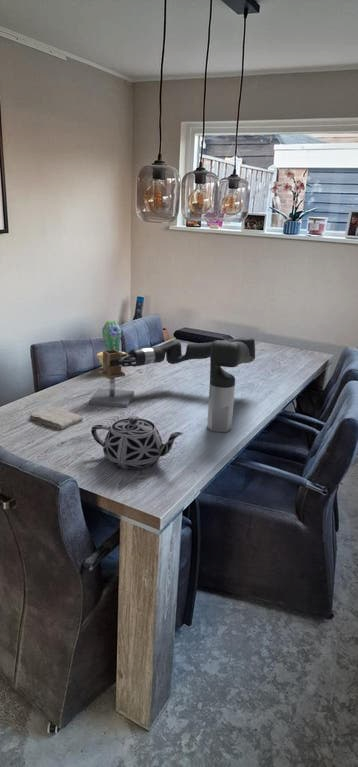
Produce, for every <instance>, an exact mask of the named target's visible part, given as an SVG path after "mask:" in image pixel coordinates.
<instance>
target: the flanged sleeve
mask: <svg viewBox="0 0 358 767" xmlns="http://www.w3.org/2000/svg"><path fill="white" fill-rule="evenodd" d="M102 352H103V366H102V370H100V371H99V373H98V374H99V375H100V376H103V377H104V378H106V379H107V380H109V379H111V378H115V379H116V378H121V377H126V373H124V372H123V371H122V370H121V369H122V368H121V366H119V365H118V366H110V361H114V360H118V361H119V359H121V352H122V351H120V352H119V351H117V350H115V349H114V350H107V349H106V350H103V351H102Z"/></svg>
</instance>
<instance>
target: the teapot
mask: <svg viewBox="0 0 358 767" xmlns="http://www.w3.org/2000/svg"><path fill="white" fill-rule="evenodd" d="M97 430H107V431H108V432H107V434H106V436H105V439H104V441H103V439H102V438H100V436H99V435H98V432H97ZM90 433H91V436H92V438H93V440H95V442H96V443H98V445H100V446H101V447H102V452H103V454H104V457H105V458H106V459H107V460H108V461H109V462H110V463H111V464H113V465H114V466H116V467H118V468H121V469H126V470H141V469H145V468H147V467H150V466H152V465H153V464H154V463H155V462H157V461H158V460H159V459H160V458H161V457H164V456H167V455H168V454H169V453H170V452H171V450H172V448H173V445H174V442H175V440H176V439H177V438H178V437H179V436H182V435H184V432H180V431H176V432H172V433H171V434H170V435H169V437H168V439H167V441H166V442H165V443H163V440H162V437H161V435H160V432H159V430H158V428H157V426H156V424H155V423H154V422H152V421H151V420H148V419H144V418H140V417H139V416H136V415H131V416H128V418H122V419H120V420H119V419H118V420H116V421H114V422H113V423H112V424H111V425H106V424H95V425H93V426H91V428H90Z"/></svg>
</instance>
